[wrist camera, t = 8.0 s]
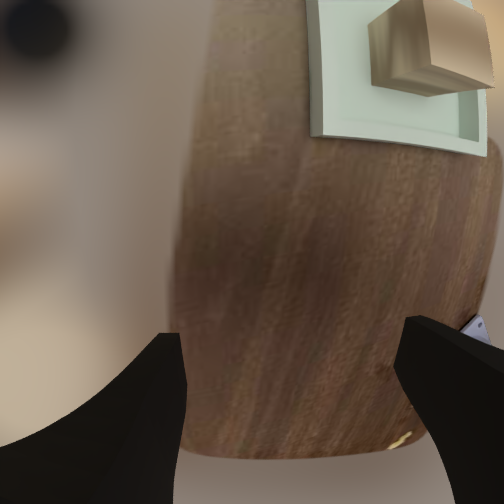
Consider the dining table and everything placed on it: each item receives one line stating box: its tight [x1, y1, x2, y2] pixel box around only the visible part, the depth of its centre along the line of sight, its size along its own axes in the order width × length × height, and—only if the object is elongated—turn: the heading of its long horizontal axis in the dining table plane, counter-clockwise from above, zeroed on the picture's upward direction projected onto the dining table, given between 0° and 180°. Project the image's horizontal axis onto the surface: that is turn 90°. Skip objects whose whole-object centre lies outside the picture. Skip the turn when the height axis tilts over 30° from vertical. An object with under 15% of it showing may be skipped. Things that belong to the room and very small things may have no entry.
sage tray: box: [306, 0, 487, 157], centre depth 14 cm, size 11×11×2 cm
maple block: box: [367, 0, 495, 97], centre depth 12 cm, size 4×4×6 cm
